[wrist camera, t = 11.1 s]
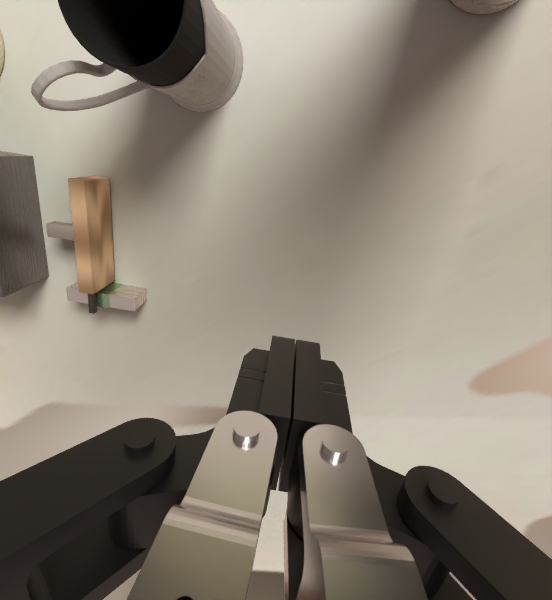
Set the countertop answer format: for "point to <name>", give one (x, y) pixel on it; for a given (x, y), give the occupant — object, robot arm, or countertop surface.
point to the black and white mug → (152, 51)
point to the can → (1, 53)
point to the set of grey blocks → (38, 239)
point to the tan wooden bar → (89, 234)
